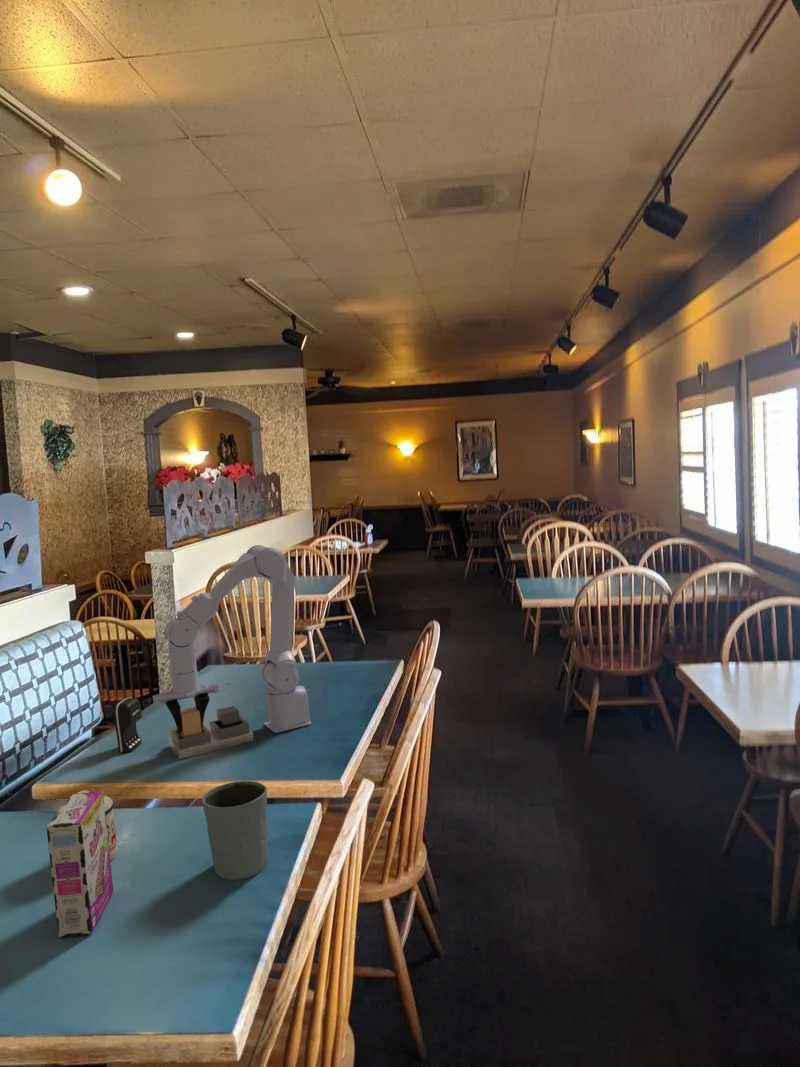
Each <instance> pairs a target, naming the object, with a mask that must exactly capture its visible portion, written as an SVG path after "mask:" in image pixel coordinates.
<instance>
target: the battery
mask: <svg viewBox="0 0 800 1067" xmlns="http://www.w3.org/2000/svg"><path fill="white" fill-rule="evenodd" d="M113 717H114V726H115V727H114V728H115V732H116V733H115V734H116V739H117V749H118V752H119V753H121V752H123V753H129V751H130V752H133V751H134V750H135V749H136V748H138V747H139V746H140V745H141V743H143V742H142V739H141V737H140V736H139V734H138V729H137V722H138V721H139V720H140V719H142V718H143V716H142V708H141V703H140V701H139V699H138V698H136V697H130V698H129V697H126V698H123V699H121V700H120V701H118V702H117V703H116V704H114V706H113ZM139 744H140V745H139ZM138 745H139V746H138ZM137 746H138V747H137Z"/></svg>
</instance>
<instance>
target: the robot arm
mask: <svg viewBox="0 0 800 1067" xmlns="http://www.w3.org/2000/svg"><path fill="white" fill-rule="evenodd" d="M260 575H261V576H262V577H264V579H265V580H267V581H268V582H269V583H270V584H271V586H272V587H271V588H272V589H271V590H272V593H271V611H270V614H271V615H270V634H269V635H270V638H269V639H270V641H269V650H268V652H267V654H266V657H265V663H264V664H263V667H262V669H261V677H262V680H263V681H264V682H265V683H266V684H267V686H266V689H265V690H266V702H267V711H268V721H265V722H264V724H263V725H264V726H265V727H267V728H268V729H269V730H270V731H271V732H273V733H275V734H277V733H280V732H285V731H289V730H294V729H297V728H300V727H305V726H309V725H312V721H311V715H310V714H311V713H310V706H309V704H310V703H309V696H308V692H307V690H306V688H305V687H304V686H303V685H298V684H299V679H300V675H299V672H298V670H297V668H296V664H297V661H296V659H295V657H294V654H293V651H292V650H293V631H294V630H293V629H294V628H293V627H294V606H295V605H294V604H295V579H296V578H295V575H294V574H293V572H292V570H291V568H290V566H289V564H288V563H287V558H286V556H285V555H284V554H283V553H282V552H280V550H278V549H277V548H274V547H267V546H263V545H259V544H257V545H253V546H251V547H249V548H248V549H247V551H246V553H245V552H244V553H243V554H241V555H240V556H239V557H238V559H237V560H236V561H235V563H234V564H233V565H232V566H231V567H230V568H229V569H228V570H227V571H226V572H225V573H224V574H223V576H221V577H220V579H219V580H218V581H217V582H216V584H214V586H213V587H212V588H211V589H210V590H209V591H208V592H200V593H199V594H197V595H195V594H194V595H193V596H192V597H191V598H190V599H191V602H190V603H189V604H188V605H187V606H185V608H184V609H183V610H182V611H181V612H180V611H179V612H177V613H176V617H175V618H172V619H170V620H169V621H168V622H167V623H166V625H165V628H164V631H163V635H164V637H165V639H166V640H167V643H168V659H169V668H170V677H171V684H172V685H171V686H172V687H171V688H172V690H168V691H164V692H161V693H158V694H155V695H152V703H153V705H154V706H155V707H157V706H160V705H162V704H164V705H165V706H166V707H167V709H168V710H169V712H170V714H171V716H172V718H173V720H174V723H175V726H176V728H177V729H176V730H178V732H179V733H181V732H182V723H181V713H180V710H181V705H180V704H179V701H181V700H184V699H189V698H193V700H194V703H195V707H196V708H197V709H198V710H199V711H200V720H201V728H202V727H203V725H204V719H205V713H206V710H207V707H208V704H209V702H210V696H209V694H213V693H214V694H217V693H220V685H219V684H218V683H217V682H211V683H205V684H199V677H198V676H199V675H198V668H197V666H198V665H197V658H196V650H195V646H194V645H195V644H194V641H195V640H196V638H197V632H198V631H200V629H202V628H203V627H204V626H205V625H206V623H208V622H209V620H211V619H212V618H213V617H214V616H215V614H217V612H218V611H219V609H220V608H219V607H220V606H219V605H220V602H221V601H222V600H224V598H226V596H227V595H228V594H230V593H231V592H232V591H233V590H234V589H236V587H237V586H238V585H240V584H241V582H243V581H244V580H245V579H249V578H256V577H259V576H260Z"/></svg>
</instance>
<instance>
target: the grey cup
mask: <svg viewBox="0 0 800 1067" xmlns="http://www.w3.org/2000/svg"><path fill="white" fill-rule="evenodd" d="M267 801H268V788H267V786H266V785H265V784H264V783H262V782H258V781H253V780H252V781H251V780H250V781H249V780H246V781H245V780H242V781H240V780H239V781H233V782H228V783H224V784H222V785H218V786H216V787H214V788H212V789H210V790H208V791H207V792H206V793H205V794H204V795H203V796H202V799H201V802H202V807H203V812H204V816H205V822H206V825H207V828H206V830H207V834H208V839H209V846H210V850H211V851H210V852H211V857H212V863H213V869H214V872H215V874H216V875H217V876H218V877H219V878H221V879H223V880H229V881H232V880H233V881H234V880H235V881H238V880H244V879H248V878H252V877H253V876H256V875H258V874H259V873H261V872H263V871H264V870H265V868H267V866H268V864H269V845H268V836H269V831H268V815H267V814H268V813H267V812H268V809H267V808H268V807H267V806H268V802H267Z"/></svg>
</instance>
